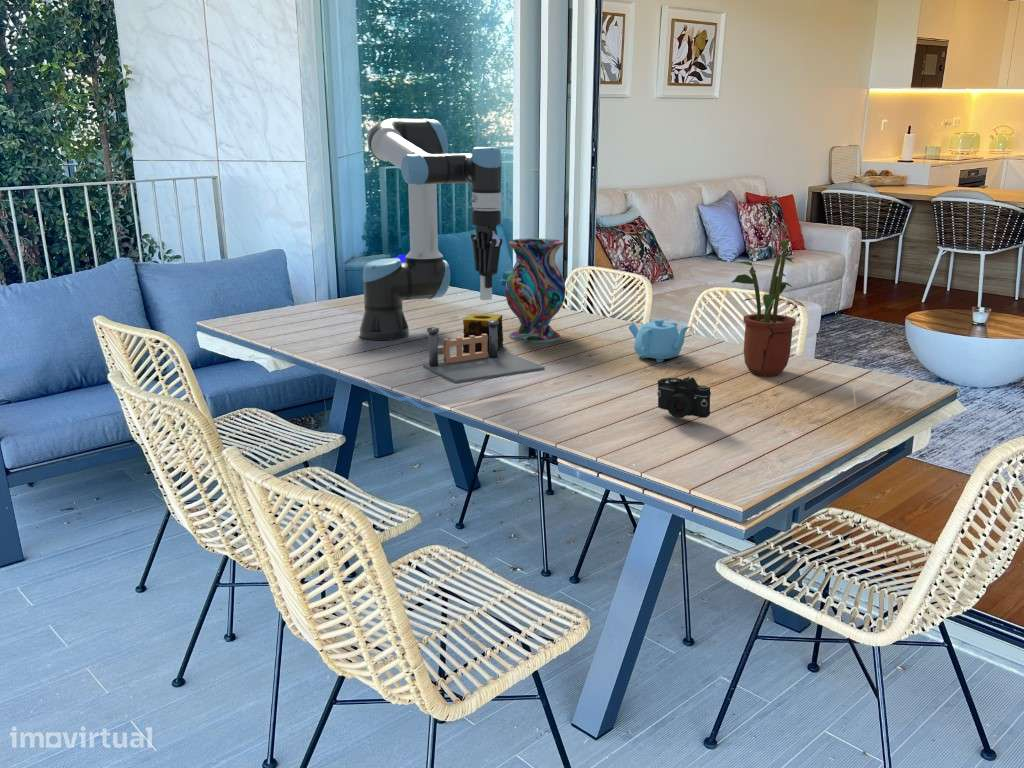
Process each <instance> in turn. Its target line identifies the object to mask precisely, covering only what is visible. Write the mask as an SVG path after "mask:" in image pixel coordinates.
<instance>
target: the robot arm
mask: <svg viewBox="0 0 1024 768" xmlns="http://www.w3.org/2000/svg"><path fill="white" fill-rule="evenodd" d="M448 144H449V142H448V137H447V134H446V131H445V128H444V126H443V125H442V123H441V122H440V121H438V120H436V119H431V118H430V119H429V118H387V119H384V120H381V121H379V122H378V123H376V124H375V125H374V126H372V128H371V130H370V131H369V133H368V136H367V146H368V149H369V151H370V152H371V154H372V155H373V156H374V157H375V158H377V160H378V159H379V160H381V161H383V162H389V163H391V164H392V165H394V166H395V167H396V168H398V169H399V170H400V172H401V176H402V179H403V181H404V182H405V183H406V184H407V186H408V187H407V190H408V192H407V193H408V214H409V215H408V216H409V217H408V219H409V224H408V225H409V249H410V250H409V251H408V253H407V254H405V255H406V263H402V262H401V260H400V259H398V258H395V257H392V258H391V257H390V258H381V259H375V260H373V261H369V262H368V263H365V265H364V266H363V268H362V269H363V271H362V274H363V275H362V283H363V301H364V313H363V315H362V320H361V324H360V327H359V336H360V337H361V338H362V339H366V340H370V341H371V340H373V341H390V340H400V339H404V338H407V337H408V336H409V335H410V328H409V327H410V326H409V325H408V321H407V319H406V316H405V313H404V311H403V308H404V307H403V301H413V300H426V299H428V300H432V299H437V298H442V297H443V296H444V295H446V294H447V292H448V289H449V288H450V287H449V286H450V282H451V269H450V264H449V263H448V262H447V260H444V255H443V254H442V253H441V252H440V250H439V242H438V241H439V238H438V234H439V233H438V232H439V231H438V201H437V199H438V198H437V196H438V195H437V193H438V192H437V191H438V190H437V185H438V184H440V185H441V184H442V185H443V184H445V185H446V184H471V197H470V199H471V207H472V208H473V209H472V211H471V224H472V225H473V226H476V228H475V233H471V234H470V239H471V243H472V248H473V249H472V250H473V258H474V267H475V268H474V269H475V271H476V272H478V274H479V276H480V277H479V279H480V283H479V286H480V287H479V294H480V296H479V297H480V300H481V301H490V300H493V276H494V275H497V274H498V269H499V260H500V255H501V246H502V244H503V238H499V237H498V231H497V226H500V225H501V222H502V211H501V210H500V209H501V208H502V164H503V160H502V151H501V149H500V148H499V147H496V146H495V147H493V146H488V147H487V146H475V147H473V148H472V150H471V152H470V153H469V152H464V153H448V151H449V145H448Z"/></svg>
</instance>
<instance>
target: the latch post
mask: <svg viewBox="0 0 1024 768" xmlns="http://www.w3.org/2000/svg"><path fill="white" fill-rule="evenodd" d="M439 332H440V328H439V327H435V326H434V327H433V326H431V327H428V328H426V333H428V361H429V362H428V364H429V366H431V367H436V366H438V362H439V355H444V346H443V345H439V344H438V343H439V339H438V338H439V336H438V333H439Z"/></svg>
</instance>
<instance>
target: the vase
mask: <svg viewBox="0 0 1024 768" xmlns="http://www.w3.org/2000/svg"><path fill="white" fill-rule="evenodd" d="M563 244H564V241H562V240H560V239H555V238H541V237H540V238H537V237H536V238H517V239H516V238H515V239H511V240H509V241H508V245H509V246H510V247H511V248H512V250H513V251H514V253H515V260H516V261H515V262H514V263H515V264H514V266H513V267H512V269H511V271H510V272H509V274H508V276H507V278H506V283H505V290H504V291H505V299H506V302H507V306H509V307H508V308H509V309H510V310H511V312H512V313H513V314H514V315H515V316H516V317H517V318H518V321H519V323H520V325H519V326H518V328H516V329H515V330H514V331H512V332H511V333H510V334H509V335H508V338H509V339H510V340H513V341H516V342H521V343H529V344H530V343H532V344H541V343H542V344H543V343H549V342H554V341H558V340H559V339H560V338H561V337H562V336H561V334H560V333H558V332H557V331H556V330H554V329H553V328H552V327H551V325H550V323H551V321H552V319H553V318H554V317H555V316H556V315H557V314H558V312H559V311H560V309H562V306H563V304H564V301H565V297H566V296H565V295H566V285H565V279H564V276H563V275H562V272H561V270H559V267H558V265H557V263H556V254H557V252H558V250H559V249H560V248H561V247H562V245H563Z"/></svg>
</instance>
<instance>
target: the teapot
mask: <svg viewBox="0 0 1024 768" xmlns="http://www.w3.org/2000/svg"><path fill="white" fill-rule="evenodd" d="M664 321H665V320H664V319H661V318H656V319H654V320H653V321H651V322H647V323H643V324H642V325H641V326H640V328H638V327H637V325H636V324H635V323H633V324H632V323H631V324H630V325H629V326H628V330H629V331H630V333H631V334H632V335H633V338H635V339H634V344H633V349H634V351H635V353H636V354H637V355H638V356H640V357H641V358H640V359H642V358H647V359H648V358H650V359H655V362H656V361H657V363H663V361H664V360H667V359H672V358H675V357H677V356H678V355H679V354H680V353H681V352H682V347H683V345H684V344H685V338H686V337H685V336H686V332H687V330H689V329H690V328H691V326H684V327H682V328H681V329H680V331H679V330H678V322H671V323H666V322H664Z"/></svg>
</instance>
